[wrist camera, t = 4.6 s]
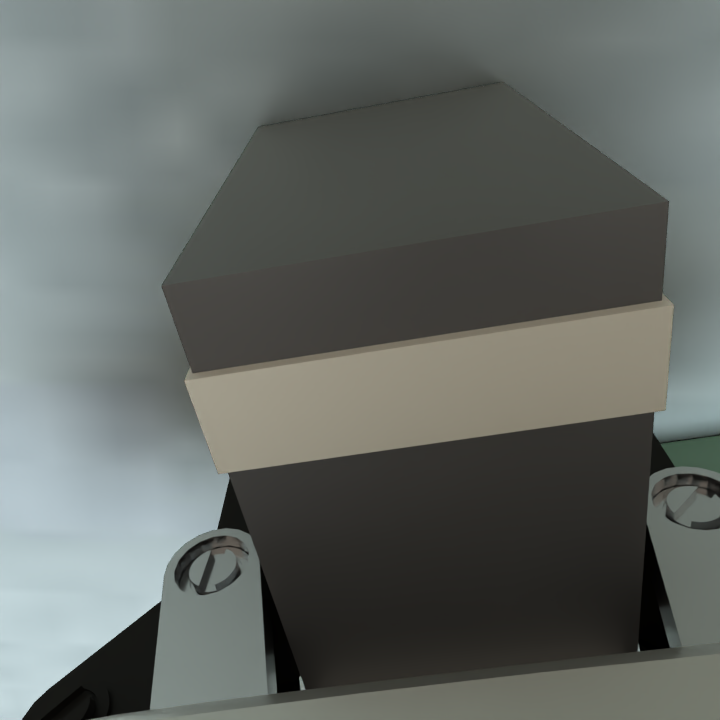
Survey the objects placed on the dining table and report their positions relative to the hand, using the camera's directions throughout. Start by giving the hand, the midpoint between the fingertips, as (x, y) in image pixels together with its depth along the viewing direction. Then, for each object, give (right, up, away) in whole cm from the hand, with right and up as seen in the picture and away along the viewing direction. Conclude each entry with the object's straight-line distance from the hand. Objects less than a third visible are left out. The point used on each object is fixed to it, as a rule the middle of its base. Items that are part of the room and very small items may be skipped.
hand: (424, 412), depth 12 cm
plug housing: (0, 0, 0) cm, 0 cm away
